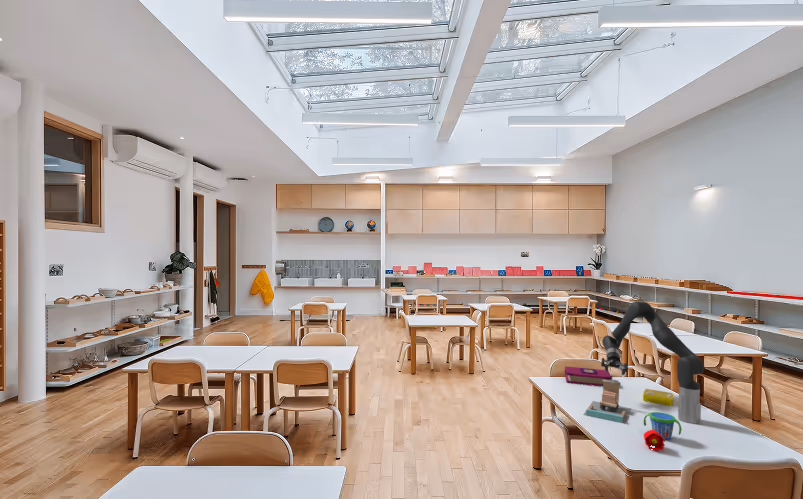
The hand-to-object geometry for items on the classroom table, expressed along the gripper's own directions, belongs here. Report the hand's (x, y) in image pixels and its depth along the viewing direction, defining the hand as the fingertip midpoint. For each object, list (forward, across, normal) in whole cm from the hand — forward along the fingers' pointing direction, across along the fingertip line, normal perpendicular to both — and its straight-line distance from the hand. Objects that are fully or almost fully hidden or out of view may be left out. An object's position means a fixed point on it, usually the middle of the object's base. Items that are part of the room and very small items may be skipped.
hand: (615, 372), depth 258 cm
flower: (+61, +10, -5) cm, 62 cm away
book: (-35, -7, +35) cm, 50 cm away
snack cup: (+46, +17, 0) cm, 50 cm away
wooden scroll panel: (+17, -2, +13) cm, 22 cm away
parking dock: (+22, -3, +12) cm, 26 cm away
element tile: (-11, +29, +20) cm, 37 cm away
